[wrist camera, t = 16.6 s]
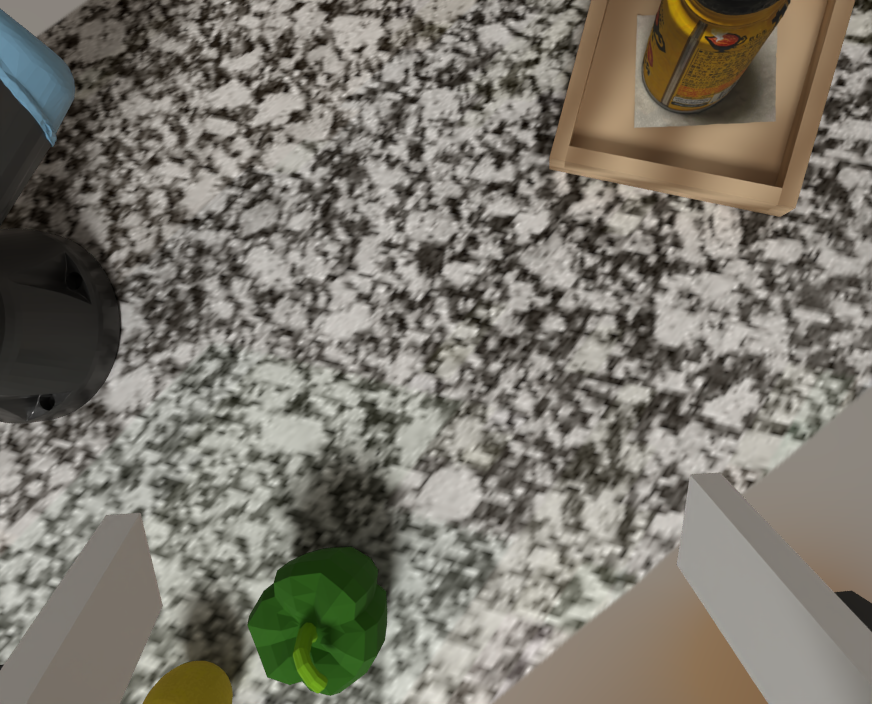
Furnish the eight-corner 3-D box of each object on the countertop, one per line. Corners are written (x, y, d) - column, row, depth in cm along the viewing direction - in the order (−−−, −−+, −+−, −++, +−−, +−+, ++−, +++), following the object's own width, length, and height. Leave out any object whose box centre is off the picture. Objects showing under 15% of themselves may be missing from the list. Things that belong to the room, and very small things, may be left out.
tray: (549, 169, 42) (549, 158, 39) (607, -51, 41) (611, -77, 39) (779, 216, 39) (795, 208, 37) (847, -18, 38) (867, -43, 36)
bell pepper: (278, 549, 46) (203, 604, 36) (378, 516, 44) (329, 564, 34) (315, 657, 45) (250, 744, 35) (417, 628, 44) (379, 709, 34)
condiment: (636, 17, 40) (672, -122, 28) (777, 6, 38) (877, -144, 27) (633, 129, 40) (668, 38, 28) (773, 123, 39) (872, 24, 27)
